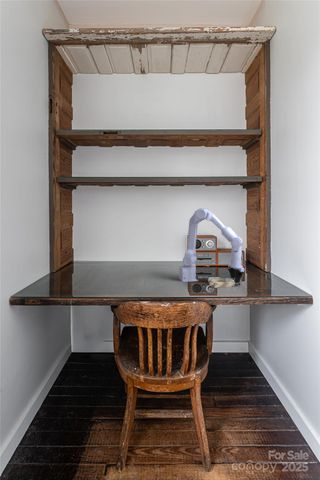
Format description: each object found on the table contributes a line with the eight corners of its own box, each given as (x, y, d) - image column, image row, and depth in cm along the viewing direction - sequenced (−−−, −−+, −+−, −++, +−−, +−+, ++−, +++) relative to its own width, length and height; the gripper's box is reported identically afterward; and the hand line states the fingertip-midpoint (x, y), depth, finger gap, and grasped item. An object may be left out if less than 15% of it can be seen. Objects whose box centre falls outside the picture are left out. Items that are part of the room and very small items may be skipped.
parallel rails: (214, 287, 170) (214, 283, 170) (209, 284, 177) (209, 280, 177) (234, 286, 173) (234, 281, 173) (228, 283, 180) (228, 279, 180)
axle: (227, 286, 174) (227, 279, 174) (223, 284, 178) (224, 277, 177) (241, 285, 176) (241, 278, 176) (237, 283, 180) (238, 276, 180)
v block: (211, 283, 179) (211, 279, 179) (207, 281, 183) (208, 277, 183) (224, 282, 181) (224, 278, 181) (220, 281, 186) (220, 276, 185)
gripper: (249, 260, 170) (248, 284, 172) (236, 256, 184) (235, 278, 185) (238, 260, 168) (237, 285, 170) (225, 256, 182) (224, 279, 184)
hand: (235, 281), depth 177 cm, fingers closed on axle, 4 cm apart
